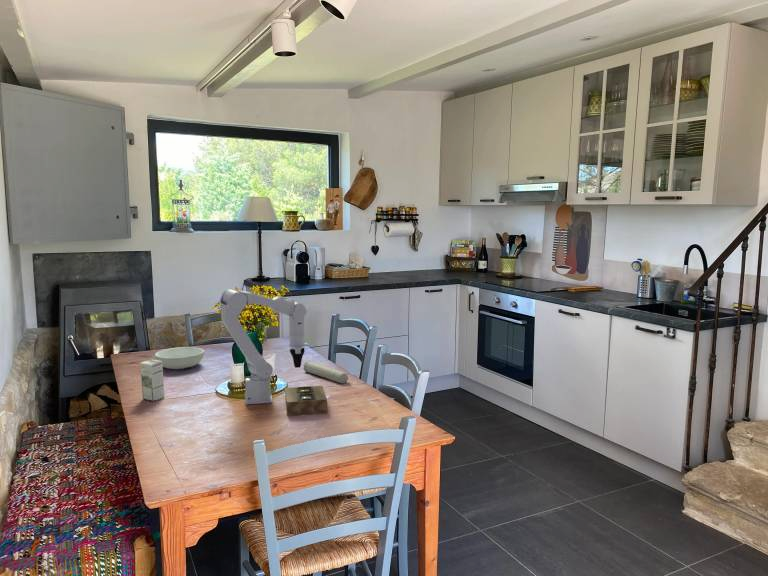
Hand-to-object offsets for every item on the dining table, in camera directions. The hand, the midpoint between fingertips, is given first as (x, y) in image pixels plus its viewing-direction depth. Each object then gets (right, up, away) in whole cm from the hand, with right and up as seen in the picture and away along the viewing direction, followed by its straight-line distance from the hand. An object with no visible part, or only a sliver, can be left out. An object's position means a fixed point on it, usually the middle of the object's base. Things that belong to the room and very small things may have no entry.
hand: (297, 367), depth 225 cm
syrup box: (-54, -11, -5) cm, 55 cm away
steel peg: (+6, -13, -18) cm, 23 cm away
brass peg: (+4, -12, -10) cm, 16 cm away
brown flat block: (+5, -13, -14) cm, 19 cm away
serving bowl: (-59, -5, +37) cm, 70 cm away
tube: (+9, -8, +22) cm, 25 cm away
